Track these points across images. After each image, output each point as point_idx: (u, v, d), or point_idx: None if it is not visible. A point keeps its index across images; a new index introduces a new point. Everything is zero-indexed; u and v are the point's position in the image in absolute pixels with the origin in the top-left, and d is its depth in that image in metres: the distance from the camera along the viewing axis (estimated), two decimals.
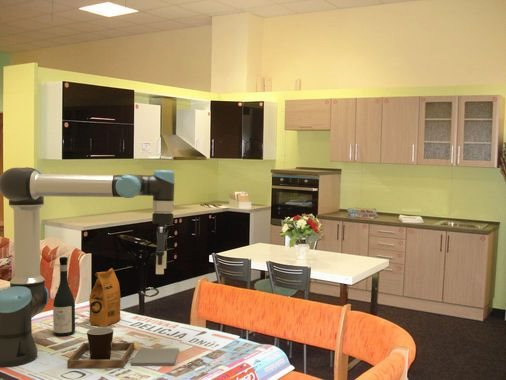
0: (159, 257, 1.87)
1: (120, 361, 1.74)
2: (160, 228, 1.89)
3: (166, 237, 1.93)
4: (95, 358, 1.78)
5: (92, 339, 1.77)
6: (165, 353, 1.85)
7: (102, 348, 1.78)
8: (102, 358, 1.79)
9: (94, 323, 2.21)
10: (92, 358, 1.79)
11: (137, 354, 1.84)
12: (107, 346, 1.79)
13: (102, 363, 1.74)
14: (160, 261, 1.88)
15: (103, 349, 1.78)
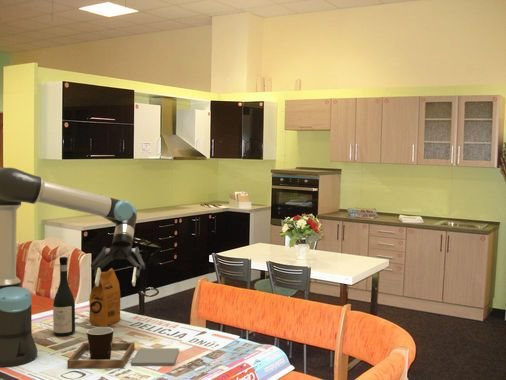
0: (139, 270, 2.03)
1: (120, 361, 1.74)
2: (138, 248, 2.10)
3: (127, 259, 2.09)
4: (95, 358, 1.78)
5: (92, 339, 1.77)
6: (165, 353, 1.85)
7: (102, 348, 1.78)
8: (102, 358, 1.79)
9: (94, 323, 2.21)
10: (92, 358, 1.79)
11: (137, 354, 1.84)
12: (107, 346, 1.79)
13: (102, 363, 1.74)
14: None
15: (103, 349, 1.78)
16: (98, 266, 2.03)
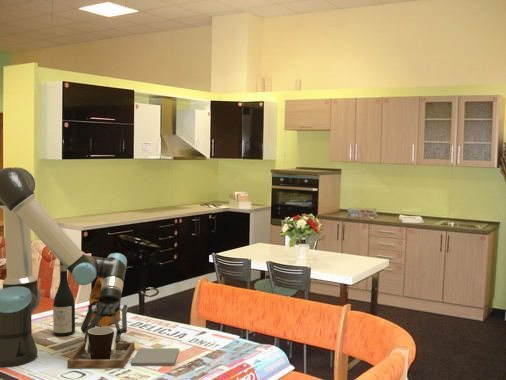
0: (120, 334, 1.84)
1: (120, 361, 1.74)
2: (127, 307, 1.91)
3: None
4: (95, 358, 1.78)
5: (93, 339, 1.77)
6: (165, 353, 1.85)
7: (102, 348, 1.78)
8: (102, 358, 1.79)
9: None
10: (92, 358, 1.79)
11: (137, 354, 1.84)
12: (107, 347, 1.79)
13: (102, 363, 1.74)
14: (119, 338, 1.83)
15: (103, 349, 1.78)
16: None
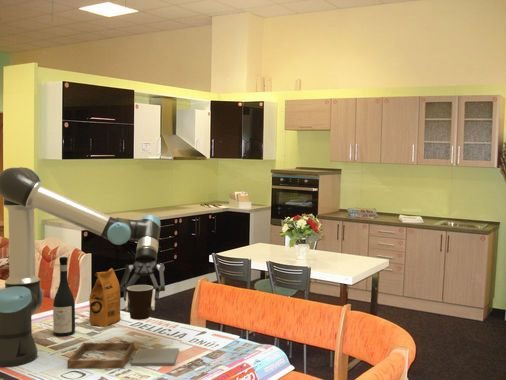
0: (158, 292, 1.84)
1: (120, 361, 1.74)
2: None
3: None
4: (136, 315, 1.78)
5: (133, 295, 1.77)
6: (165, 353, 1.85)
7: (142, 305, 1.78)
8: (142, 315, 1.79)
9: (94, 323, 2.21)
10: (132, 314, 1.79)
11: (137, 354, 1.84)
12: (147, 303, 1.79)
13: (102, 363, 1.74)
14: (158, 296, 1.83)
15: (143, 306, 1.78)
16: None
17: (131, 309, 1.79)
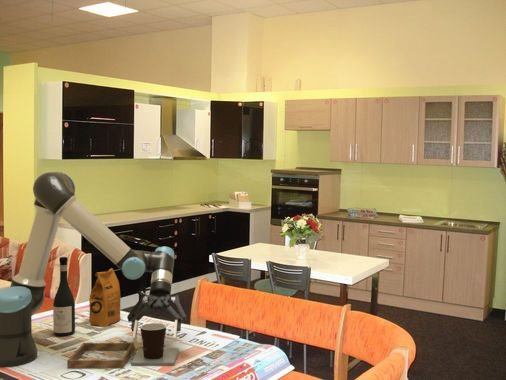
0: (180, 323, 1.85)
1: (120, 361, 1.74)
2: (178, 297, 1.92)
3: (167, 309, 1.91)
4: (149, 354, 1.79)
5: (147, 334, 1.78)
6: (165, 353, 1.85)
7: (156, 344, 1.79)
8: (156, 354, 1.80)
9: (94, 323, 2.21)
10: (146, 354, 1.80)
11: (137, 354, 1.84)
12: (160, 342, 1.80)
13: (102, 363, 1.74)
14: (180, 327, 1.84)
15: (157, 345, 1.79)
16: (135, 318, 1.85)
17: (145, 348, 1.80)
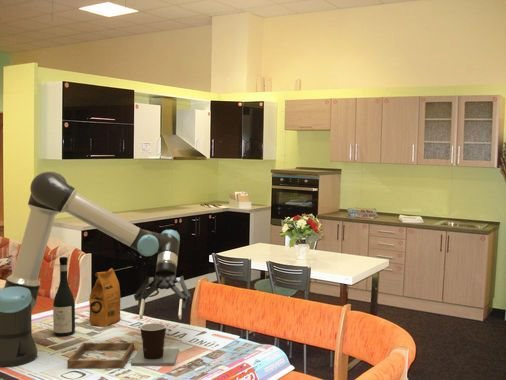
0: (185, 302, 1.93)
1: (120, 361, 1.74)
2: (183, 278, 1.99)
3: (172, 289, 1.98)
4: (149, 354, 1.79)
5: (147, 335, 1.78)
6: (165, 353, 1.85)
7: (156, 344, 1.79)
8: (156, 354, 1.79)
9: (94, 323, 2.21)
10: (146, 354, 1.80)
11: (137, 354, 1.84)
12: (160, 342, 1.80)
13: (102, 363, 1.74)
14: None
15: (157, 345, 1.79)
16: (142, 297, 1.92)
17: (145, 348, 1.80)
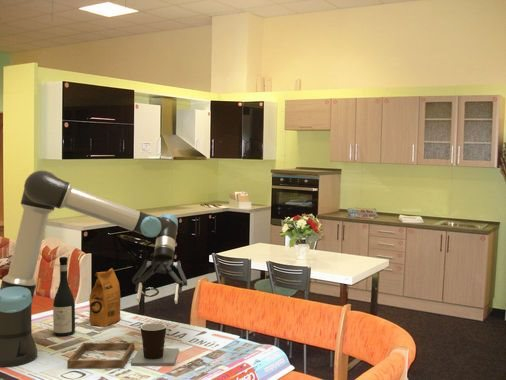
0: (181, 287, 1.98)
1: (120, 361, 1.74)
2: (180, 263, 2.04)
3: (169, 273, 2.03)
4: (149, 354, 1.79)
5: (147, 335, 1.78)
6: (165, 353, 1.85)
7: (156, 344, 1.79)
8: (156, 354, 1.79)
9: (94, 323, 2.21)
10: (146, 354, 1.80)
11: (137, 354, 1.84)
12: (160, 342, 1.80)
13: (102, 363, 1.74)
14: (181, 291, 1.98)
15: (157, 345, 1.79)
16: (140, 281, 1.98)
17: (145, 348, 1.80)
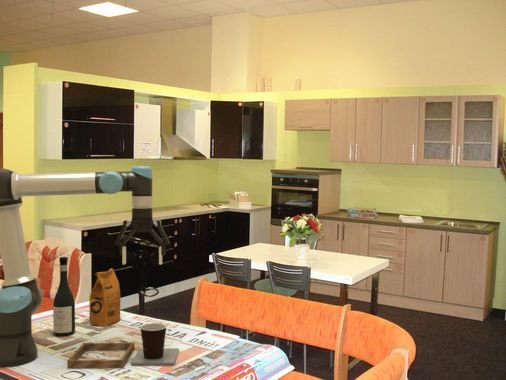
0: (164, 248, 2.02)
1: (120, 361, 1.74)
2: (160, 221, 2.01)
3: (150, 230, 2.03)
4: (149, 354, 1.79)
5: (147, 335, 1.78)
6: (165, 353, 1.85)
7: (156, 344, 1.79)
8: (156, 354, 1.79)
9: (94, 323, 2.21)
10: (146, 354, 1.80)
11: (137, 354, 1.84)
12: (160, 343, 1.80)
13: (102, 363, 1.74)
14: (164, 251, 2.02)
15: (157, 345, 1.79)
16: (122, 245, 2.00)
17: (145, 348, 1.80)
